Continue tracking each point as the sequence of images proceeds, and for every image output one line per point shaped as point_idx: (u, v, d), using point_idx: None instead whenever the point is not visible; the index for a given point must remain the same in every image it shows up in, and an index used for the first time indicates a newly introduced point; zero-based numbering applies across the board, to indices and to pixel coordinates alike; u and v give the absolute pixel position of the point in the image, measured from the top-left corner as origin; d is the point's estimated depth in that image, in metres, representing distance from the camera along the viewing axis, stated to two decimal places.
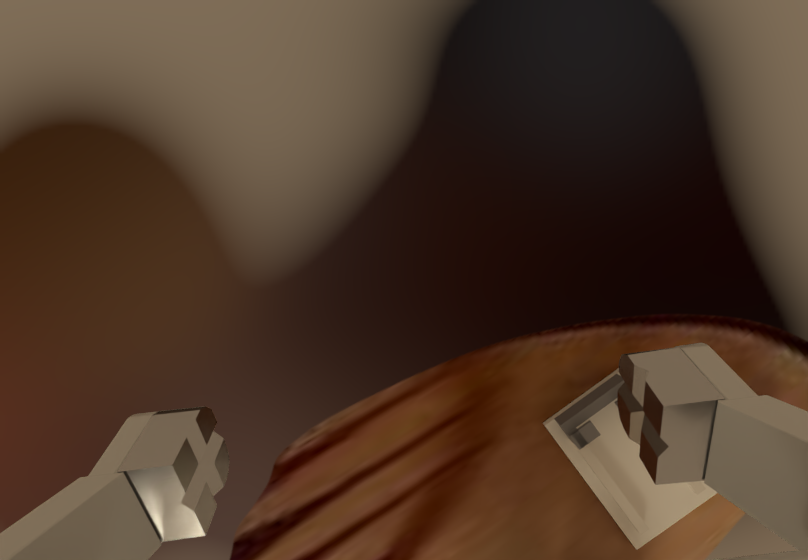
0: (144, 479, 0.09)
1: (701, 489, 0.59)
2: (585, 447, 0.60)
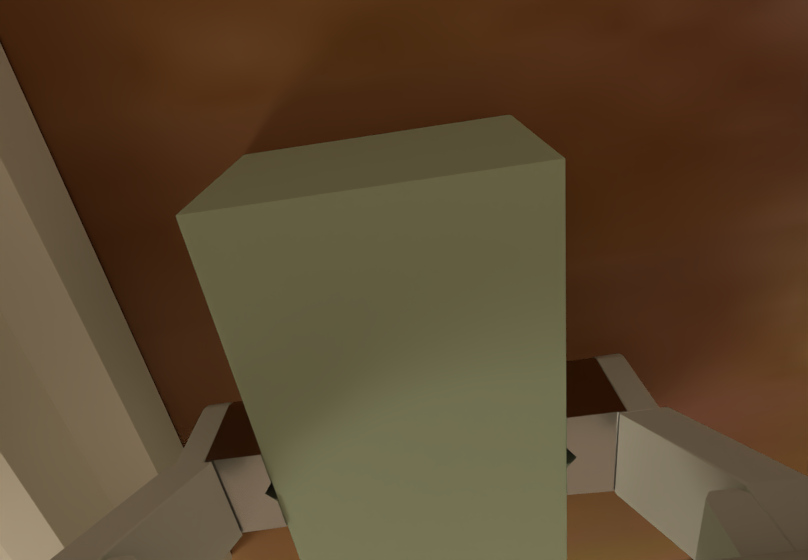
0: (231, 468, 0.09)
1: None
2: None
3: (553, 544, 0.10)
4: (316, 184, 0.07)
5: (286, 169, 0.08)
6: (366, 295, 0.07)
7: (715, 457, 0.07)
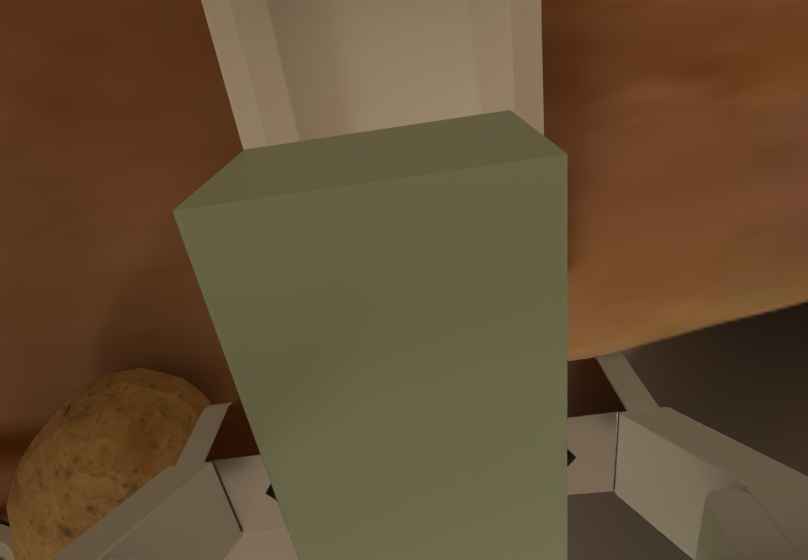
0: (231, 469, 0.09)
1: None
2: (260, 15, 0.17)
3: (553, 544, 0.10)
4: (315, 180, 0.07)
5: (285, 165, 0.08)
6: (364, 292, 0.07)
7: (714, 457, 0.07)
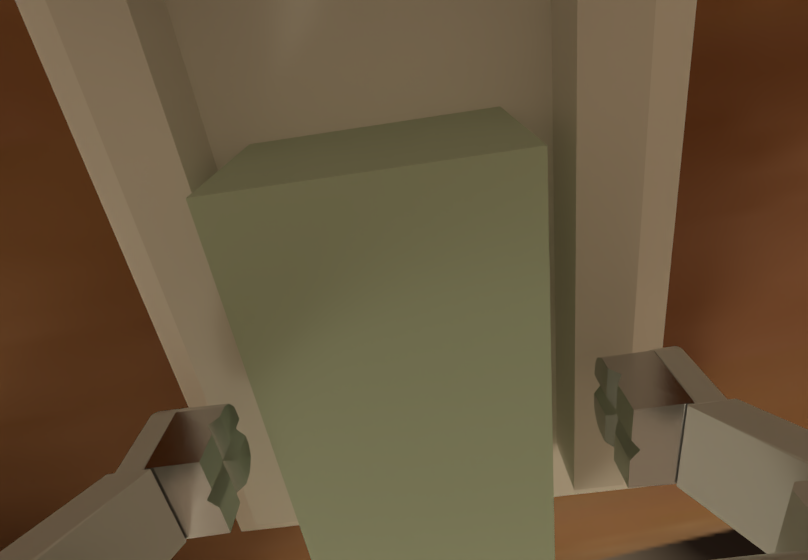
0: (171, 476, 0.09)
1: (604, 480, 0.13)
2: (106, 3, 0.08)
3: (541, 516, 0.10)
4: (316, 170, 0.08)
5: (289, 158, 0.09)
6: (362, 273, 0.08)
7: (794, 448, 0.07)
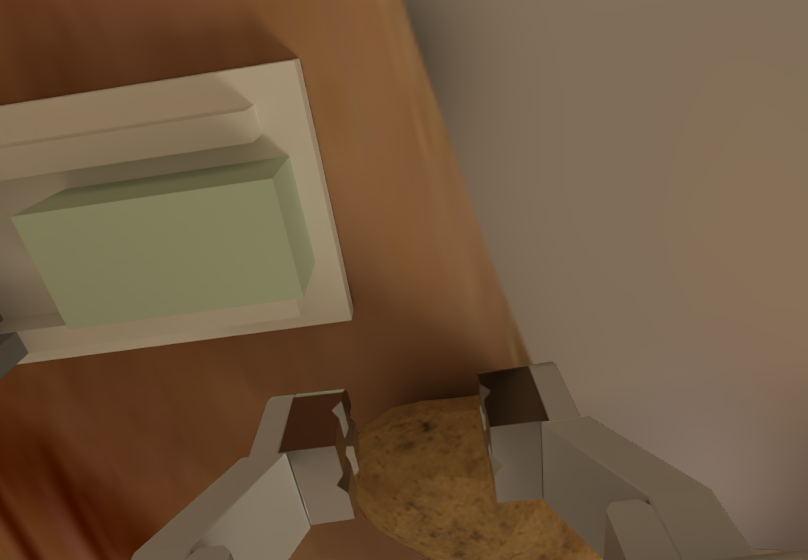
0: (304, 460, 0.09)
1: (241, 124, 0.20)
2: (49, 333, 0.24)
3: (202, 195, 0.19)
4: None
5: None
6: (80, 277, 0.20)
7: (622, 467, 0.07)
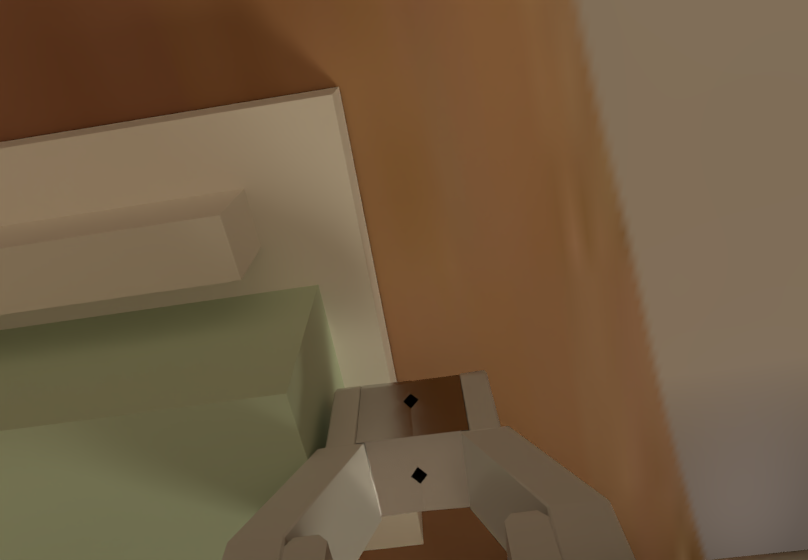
0: (381, 451, 0.08)
1: (214, 244, 0.09)
2: None
3: (116, 428, 0.08)
4: None
5: None
6: None
7: (529, 478, 0.07)
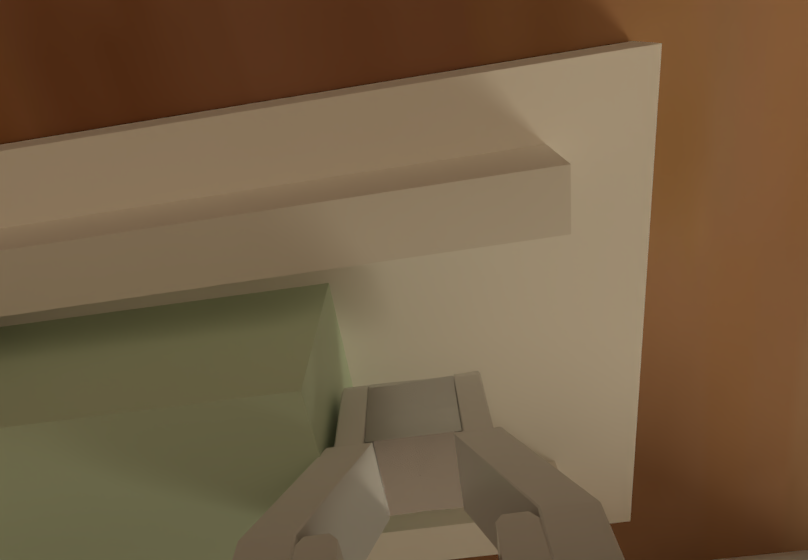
0: (390, 450, 0.08)
1: (556, 195, 0.08)
2: None
3: (130, 424, 0.08)
4: None
5: None
6: None
7: (521, 479, 0.07)
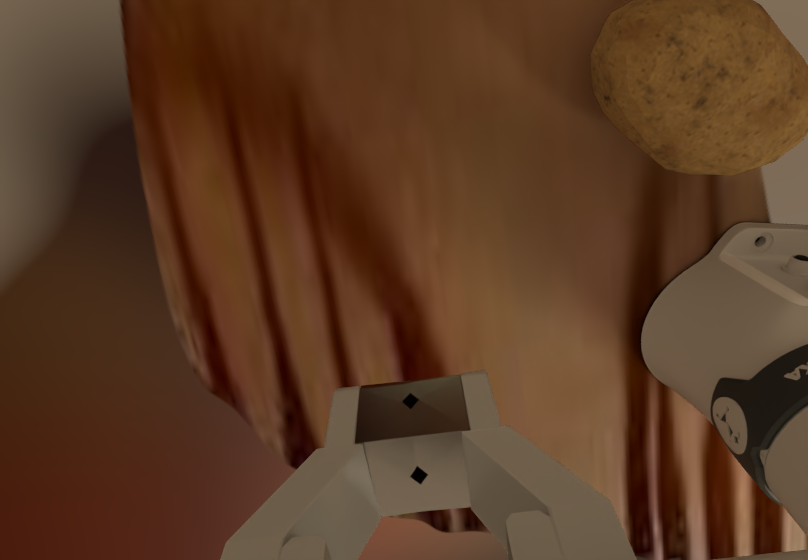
0: (380, 451, 0.08)
1: None
2: None
3: None
4: None
5: None
6: None
7: (530, 478, 0.07)
